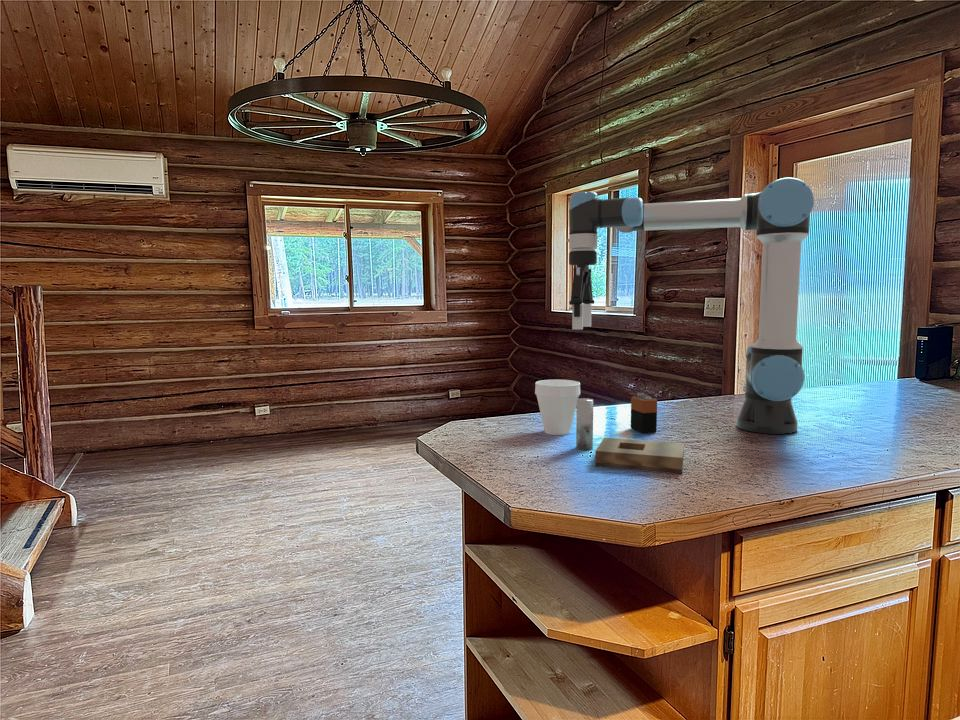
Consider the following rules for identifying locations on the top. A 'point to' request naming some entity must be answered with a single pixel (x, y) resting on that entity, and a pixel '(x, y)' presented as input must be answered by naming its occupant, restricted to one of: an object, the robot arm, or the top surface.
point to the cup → (557, 404)
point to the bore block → (640, 455)
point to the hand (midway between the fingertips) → (582, 328)
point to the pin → (584, 424)
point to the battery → (643, 413)
